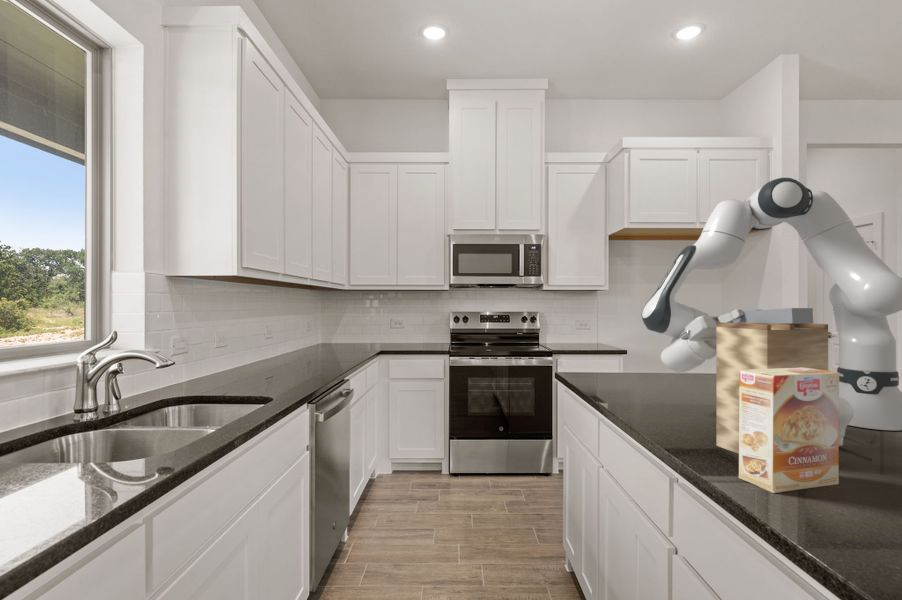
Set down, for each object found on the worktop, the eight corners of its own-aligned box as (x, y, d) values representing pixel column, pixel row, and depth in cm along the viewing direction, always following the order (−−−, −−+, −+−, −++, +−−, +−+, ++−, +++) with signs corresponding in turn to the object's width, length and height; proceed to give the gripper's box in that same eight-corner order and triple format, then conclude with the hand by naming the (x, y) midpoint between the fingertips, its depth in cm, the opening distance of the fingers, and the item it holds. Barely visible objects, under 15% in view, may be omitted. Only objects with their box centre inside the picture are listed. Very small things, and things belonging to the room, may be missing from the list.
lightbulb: (821, 448, 99) (820, 397, 99) (814, 441, 105) (814, 392, 105) (857, 453, 96) (857, 400, 96) (849, 445, 102) (849, 395, 102)
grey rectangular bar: (733, 324, 111) (732, 312, 111) (750, 324, 110) (749, 312, 111) (792, 323, 91) (791, 308, 91) (813, 323, 90) (812, 308, 91)
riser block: (716, 445, 101) (716, 322, 101) (772, 440, 105) (772, 321, 106) (767, 464, 90) (767, 324, 90) (828, 456, 94) (828, 324, 94)
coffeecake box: (774, 494, 75) (774, 374, 76) (736, 478, 82) (736, 368, 82) (841, 485, 79) (841, 371, 80) (800, 470, 86) (800, 366, 86)
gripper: (671, 327, 117) (709, 299, 106) (735, 326, 123) (778, 300, 111) (680, 350, 114) (721, 324, 103) (746, 348, 120) (791, 323, 108)
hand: (751, 312), depth 107 cm, fingers open, 5 cm apart
